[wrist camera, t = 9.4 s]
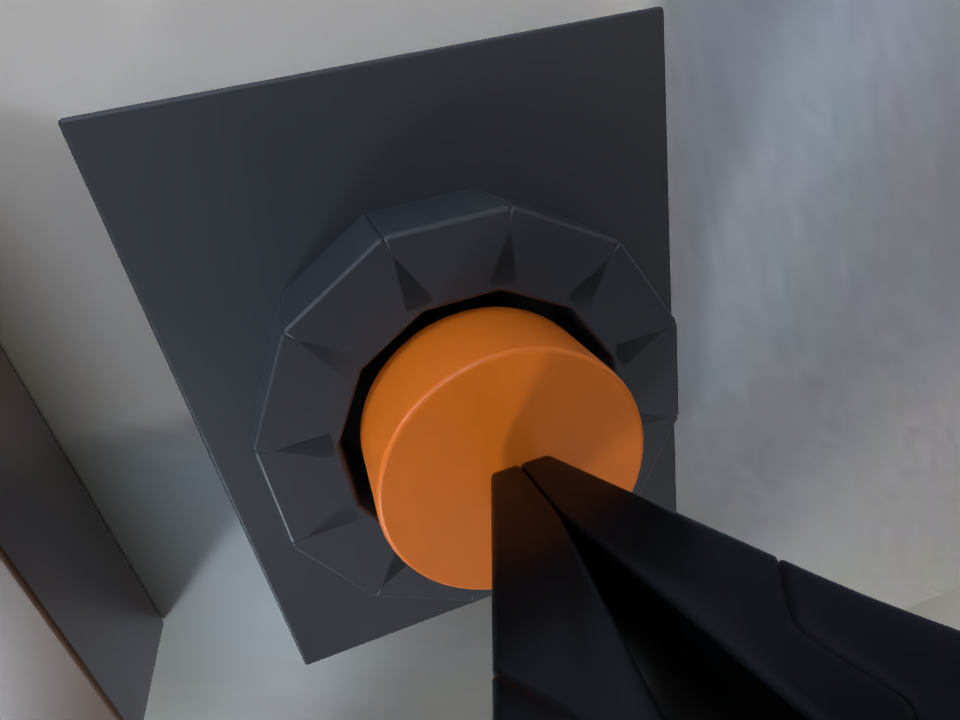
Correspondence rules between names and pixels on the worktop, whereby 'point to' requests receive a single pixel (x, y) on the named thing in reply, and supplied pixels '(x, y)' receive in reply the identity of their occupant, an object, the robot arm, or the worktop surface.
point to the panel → (63, 586)
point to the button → (485, 430)
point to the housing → (388, 268)
